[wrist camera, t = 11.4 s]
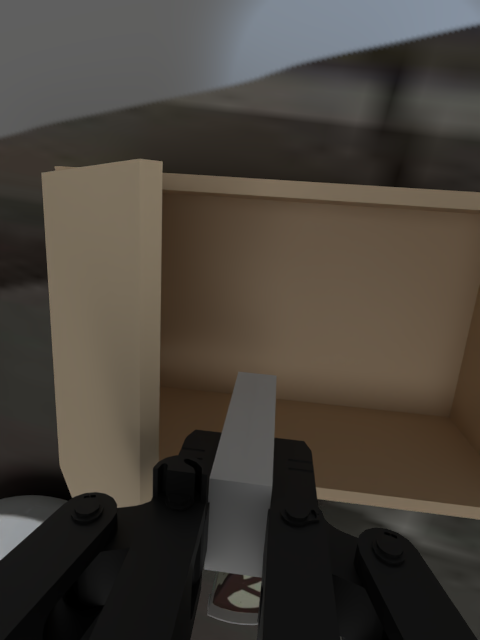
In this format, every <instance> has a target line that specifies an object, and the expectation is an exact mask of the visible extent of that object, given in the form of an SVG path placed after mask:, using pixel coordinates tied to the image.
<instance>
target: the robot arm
mask: <svg viewBox="0 0 480 640" xmlns="http://www.w3.org/2000/svg"><path fill="white" fill-rule="evenodd" d="M276 379H277V376H275V375H266V374H256V373H247V372H238V375H237V379H236V382H235V386H234V390H233V393H232V397H231V401H230V405H229V408H228V412H227V416H226V419H225V423H224V427H223V430H222V433H221V432H213V431H204V430H194V431H193V432H192V433H191V434H189V435H188V436H187V437H186V438H185V440H184V443H183V445H182V448H181V450H180V452H179V454H178V455H175V456H171V457H167V458H165V459H163V460H161V461H159V462H158V463H157V464H156V465H155V466H154V467H153V497H152V499H151V501H149V502H147V503H144V504H141V505H136V506H130V507H121V508H117V503H116V502H115V500H114V498H113V497H111V496H109V495H107V494H105V493H99V492H91V493H84V494H81V495H78V496H75V497H73V498H72V499H70V500H69V501H67V502H66V503H64V504H63V505H62V506H61V507H60V508H59V509H57V510H56V511H55V512H54V513H53V514H52V515H51V516H50V517H48V518H47V519H46V520H45V521H44V522H43V523H42V524H41V525H40V526H38V527H37V528H36V529H35V530H34V531H33V532H32V533H31V534H29V535H28V536H27V537H26V538H25V539H24V540H23V541H22V542H20V543H19V544H18V545H17V546H16V547H15V548H14V549H13V550H11V551H10V552H9V553H8V554H7V555H6V556H5V557H4V558H2V559H1V560H0V640H190V638H191V634H192V629H193V624H194V620H195V615H196V610H197V605H198V601H199V596H200V591H201V580H202V570H203V565H204V569H205V570H212V571H219V572H226V573H233V574H240V575H247V576H254V577H261V578H262V582H261V591H260V601H259V610H258V619H257V622H258V635H257V640H340V636H341V637H342V640H477V638H476V637H475V635H474V634H473V632H472V631H471V629H470V628H469V626H468V625H467V623H466V622H465V620H464V619H463V617H462V616H461V614H460V613H459V611H458V610H457V608H456V607H455V605H454V604H453V602H452V601H451V600H450V598H449V597H448V595H447V594H446V592H445V591H444V589H443V588H442V586H441V585H440V583H439V582H438V580H437V579H436V577H435V576H434V574H433V573H432V571H431V570H430V568H429V567H428V565H427V564H426V562H425V561H424V559H423V558H422V556H421V555H420V553H419V552H418V550H417V549H416V548H415V547H414V546H413V545H412V543H411V542H410V541H409V540H407V539H406V538H404V537H403V536H401V535H400V534H398V533H396V532H393V531H391V530H388V529H383V528H372V529H367V530H365V531H364V532H363V533H361V534H360V535H359V538H356V537H354V536H351V535H349V534H346V533H344V532H342V531H340V530H338V529H336V528H334V527H333V526H332V525H330V524H329V523H328V522H327V521H326V520H325V519H324V517H323V514H322V511H321V510H320V509H319V507H318V501H317V492H316V484H315V475H314V467H313V458H312V451H311V450H310V448H309V447H308V446H307V444H306V443H305V442H304V441H299V440H291V439H282V438H274V431H275V405H276ZM204 561H205V564H204Z"/></svg>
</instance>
